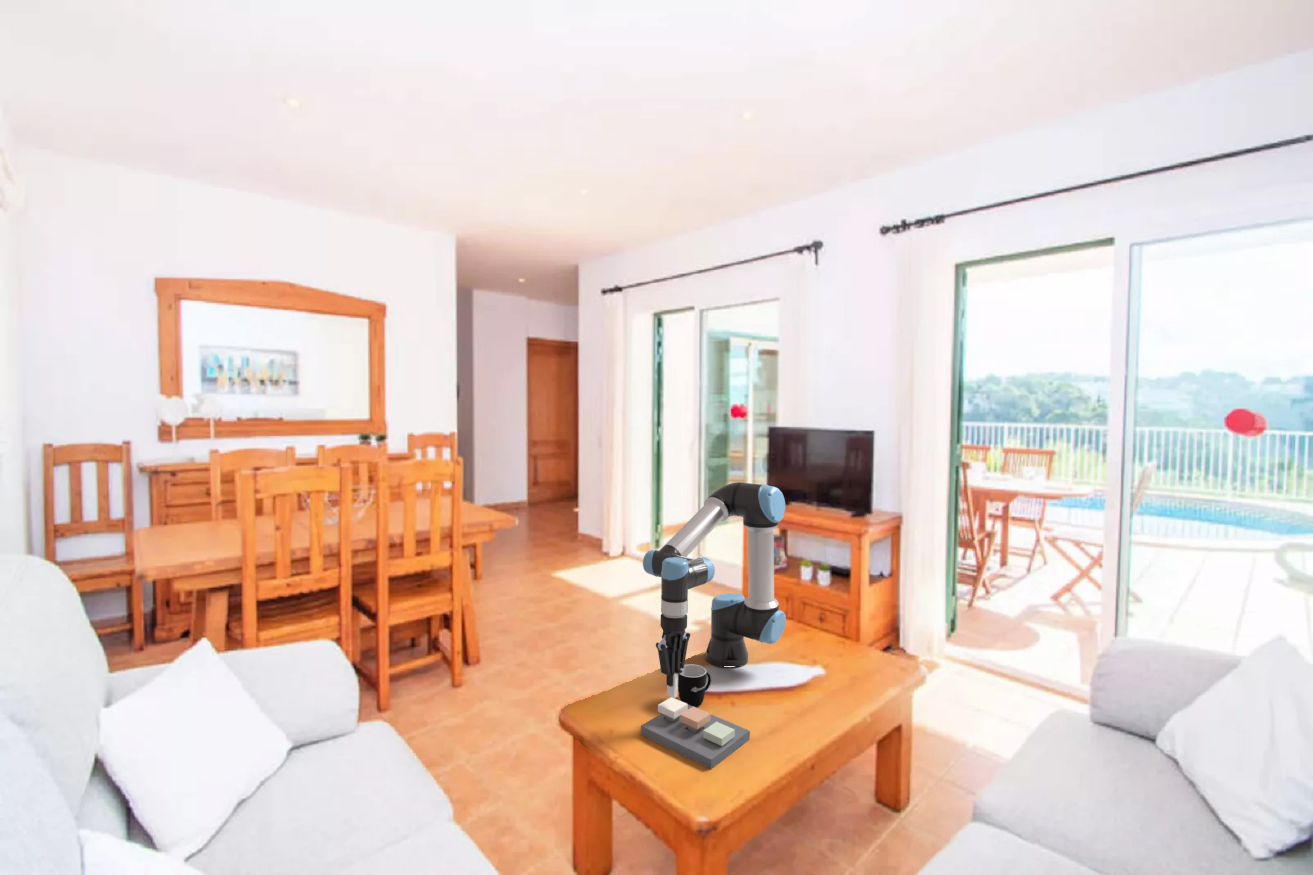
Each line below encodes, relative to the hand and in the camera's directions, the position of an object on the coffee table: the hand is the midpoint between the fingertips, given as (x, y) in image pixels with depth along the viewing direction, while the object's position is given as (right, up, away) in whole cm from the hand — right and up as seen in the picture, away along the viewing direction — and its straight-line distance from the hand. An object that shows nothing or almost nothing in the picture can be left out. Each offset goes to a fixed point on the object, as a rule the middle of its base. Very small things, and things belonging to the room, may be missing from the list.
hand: (672, 695), depth 173 cm
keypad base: (+6, -10, -4) cm, 12 cm away
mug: (+8, -9, +16) cm, 19 cm away
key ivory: (0, -7, +1) cm, 7 cm away
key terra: (+6, -8, -4) cm, 11 cm away
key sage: (+12, -10, -10) cm, 18 cm away
